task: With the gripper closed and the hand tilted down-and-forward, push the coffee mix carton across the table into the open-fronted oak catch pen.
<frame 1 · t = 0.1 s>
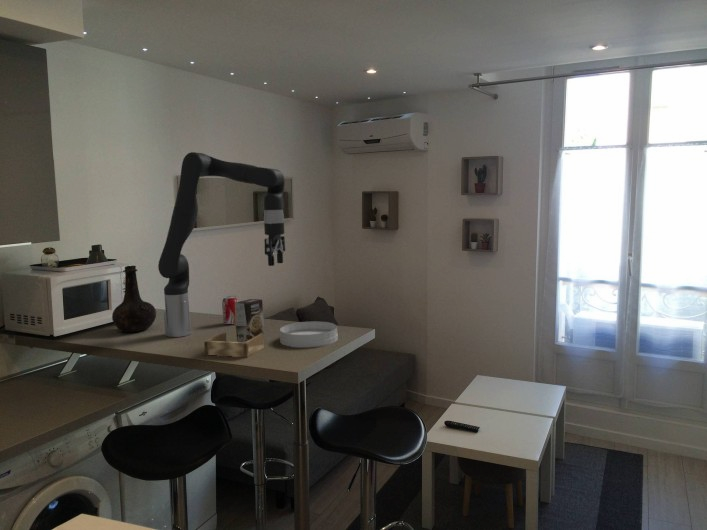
hand: (275, 264, 213), 29 cm above the breakfast bar, tool pointing down, fingers open, 8 cm apart
soda can: (231, 324, 247), on the breakfast bar
dish: (309, 341, 213), on the breakfast bar
coffee box: (251, 342, 212), on the breakfast bar
glass bottle: (135, 330, 241), on the breakfast bar
catch pen: (235, 350, 201), on the breakfast bar
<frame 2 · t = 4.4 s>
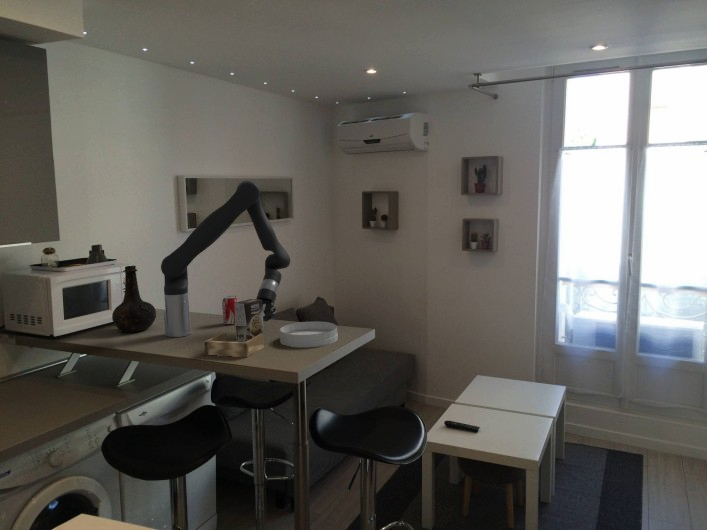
hand: (256, 329, 217), 4 cm above the breakfast bar, tool tilted 45°, fingers closed
coffee box: (250, 343, 212), on the breakfast bar, touching gripper
everything else where it was.
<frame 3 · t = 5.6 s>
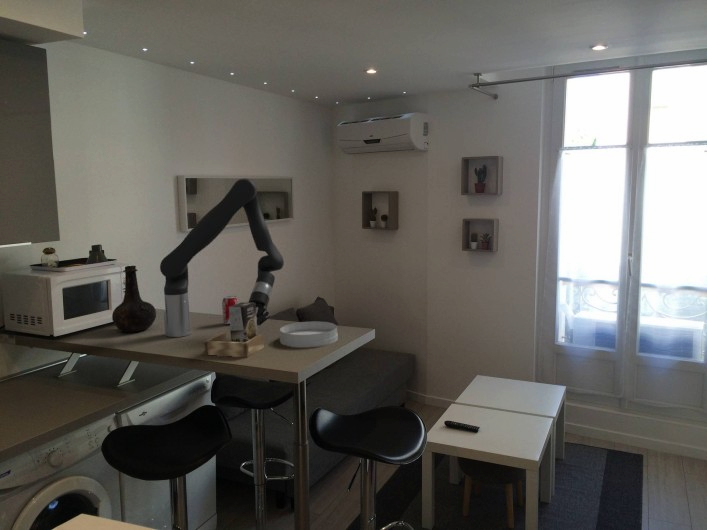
hand: (248, 333, 210), 4 cm above the breakfast bar, tool tilted 45°, fingers closed
coffee box: (245, 347, 205), on the breakfast bar, touching gripper
everything else where it was.
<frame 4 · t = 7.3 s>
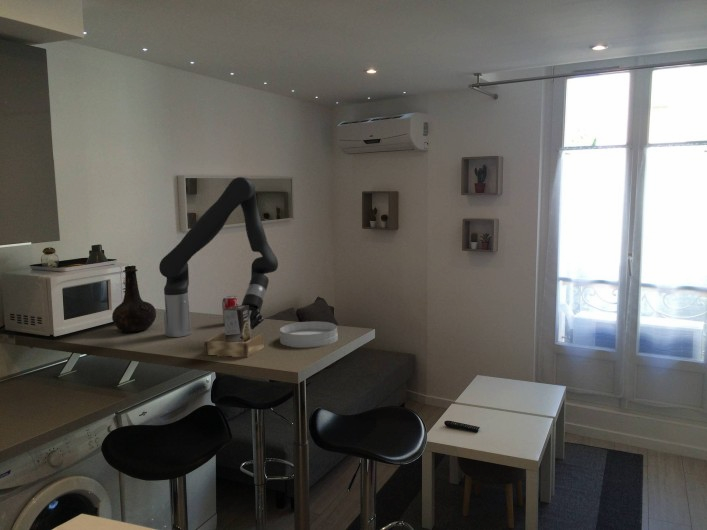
hand: (241, 337, 204), 4 cm above the breakfast bar, tool tilted 45°, fingers closed
coffee box: (239, 352, 200), on the breakfast bar, touching gripper
everything else where it was.
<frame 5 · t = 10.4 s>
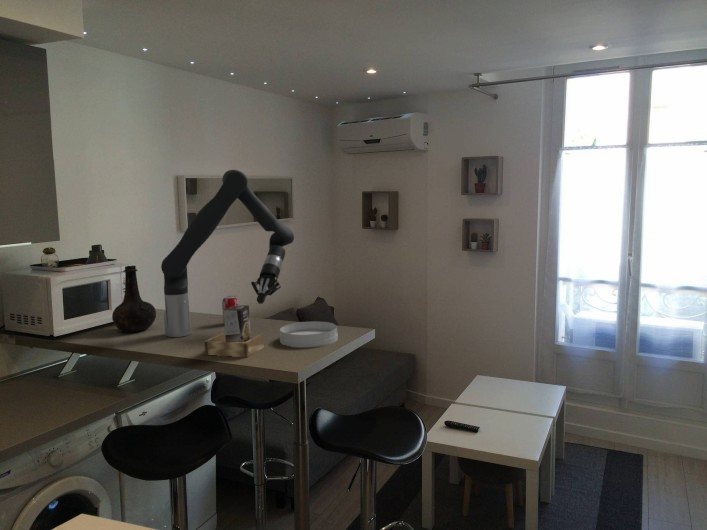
hand: (259, 302, 220), 13 cm above the breakfast bar, tool tilted 45°, fingers closed
coffee box: (239, 352, 200), on the breakfast bar
everything else where it was.
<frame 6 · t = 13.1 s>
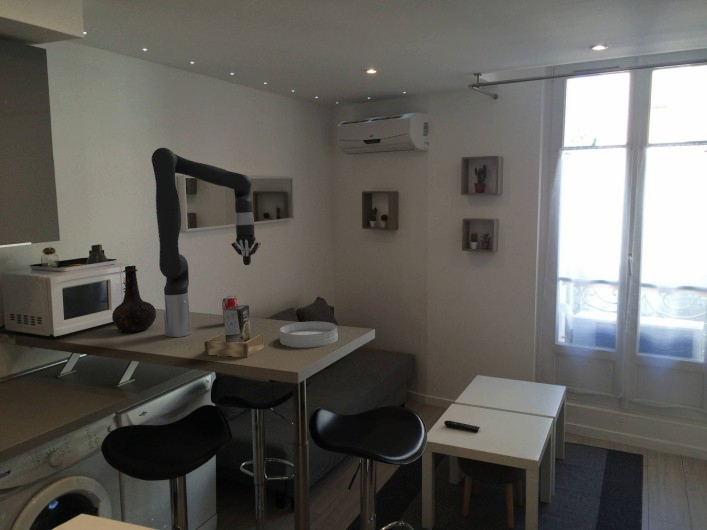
hand: (247, 264, 233), 27 cm above the breakfast bar, tool pointing down, fingers closed
nothing on the breakfast bar moved.
at the end: coffee box inside the target area on the catch pen (1.9 cm from its centre), point 0.0 cm above the catch pen's base; coffee box moved 12.8 cm from its start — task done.
